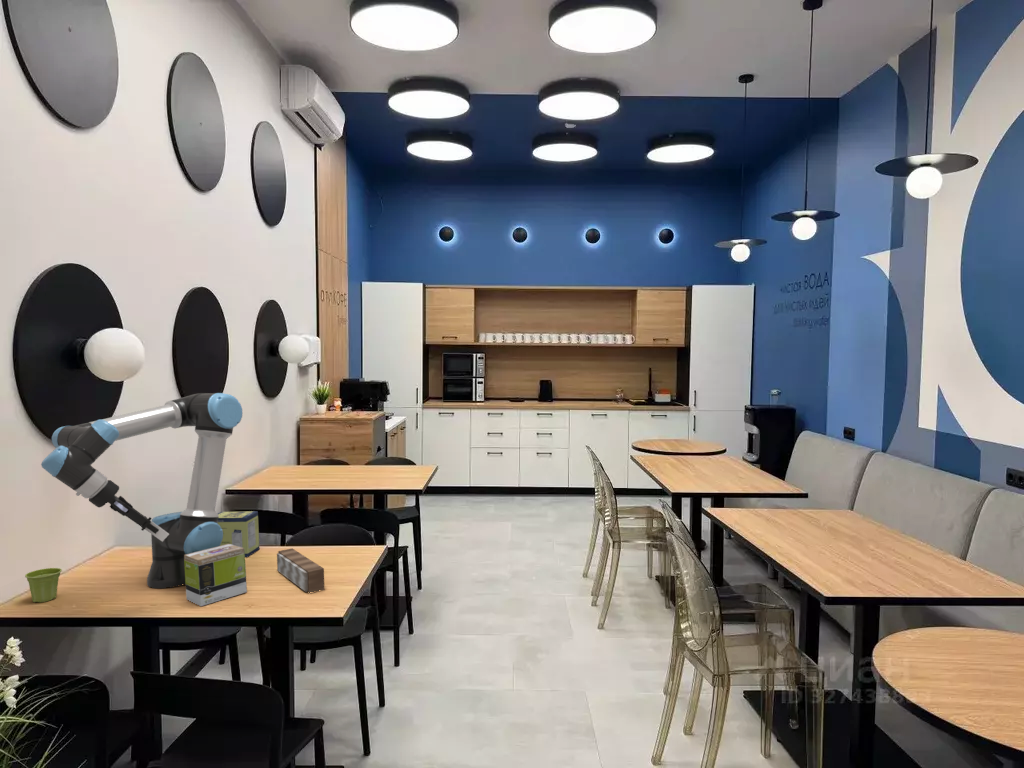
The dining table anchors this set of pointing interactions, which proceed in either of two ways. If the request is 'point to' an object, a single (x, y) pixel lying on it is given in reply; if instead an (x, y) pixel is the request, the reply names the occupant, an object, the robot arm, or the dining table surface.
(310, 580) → the bar
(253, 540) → the protein box
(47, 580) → the plant pot
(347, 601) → the dining table surface
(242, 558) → the tea box
